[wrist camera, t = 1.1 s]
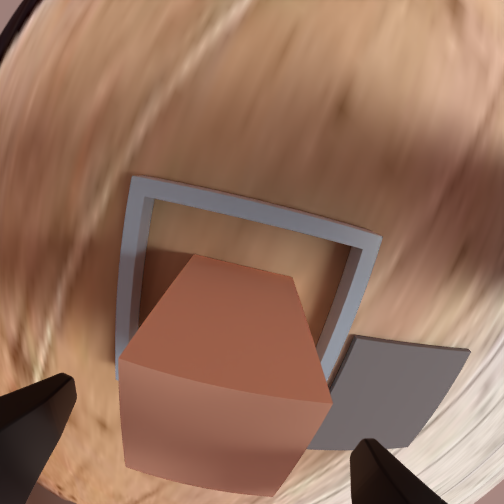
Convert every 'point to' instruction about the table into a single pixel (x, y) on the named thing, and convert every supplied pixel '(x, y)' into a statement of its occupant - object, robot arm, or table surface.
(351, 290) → the blue-grey square frame
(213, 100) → the table surface
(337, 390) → the place mat
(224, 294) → the block
